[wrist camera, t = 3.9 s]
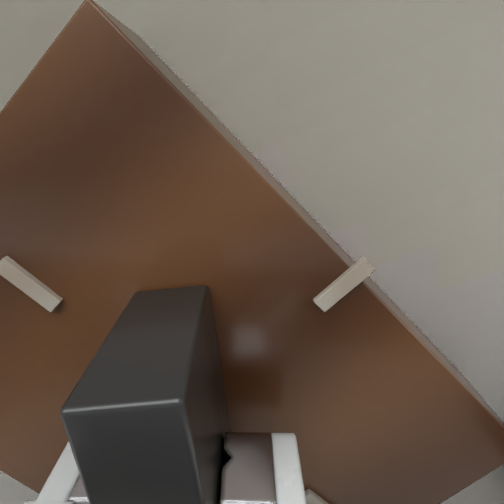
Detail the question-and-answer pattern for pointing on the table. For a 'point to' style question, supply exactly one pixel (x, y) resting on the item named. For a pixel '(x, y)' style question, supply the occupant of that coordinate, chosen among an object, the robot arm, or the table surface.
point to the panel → (206, 283)
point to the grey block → (152, 405)
